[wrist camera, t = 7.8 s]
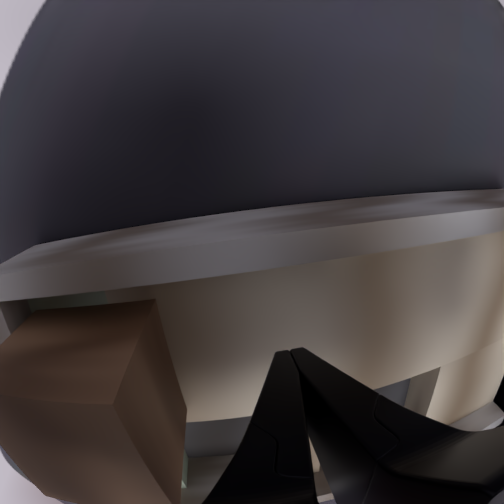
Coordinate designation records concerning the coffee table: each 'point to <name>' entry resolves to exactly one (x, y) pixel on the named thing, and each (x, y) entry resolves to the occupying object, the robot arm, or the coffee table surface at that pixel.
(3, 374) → the walnut block
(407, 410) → the robot arm
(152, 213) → the coffee table surface
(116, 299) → the grey slotted tray
